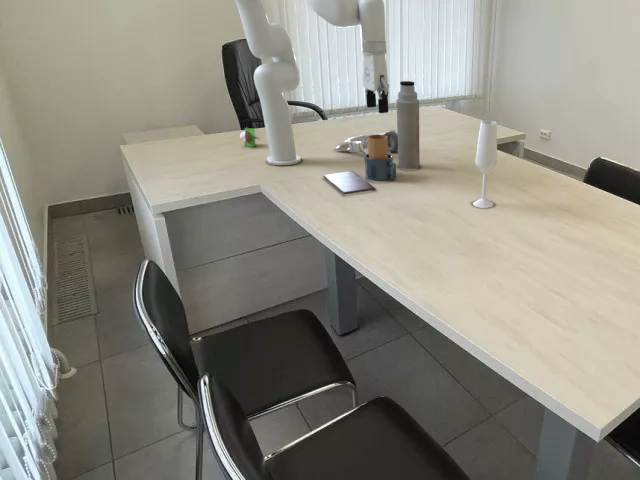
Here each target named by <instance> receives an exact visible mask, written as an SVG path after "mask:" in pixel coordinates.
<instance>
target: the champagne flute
mask: <svg viewBox="0 0 640 480" xmlns="http://www.w3.org/2000/svg"><path fill="white" fill-rule="evenodd" d="M478 132H479V133H478V140H477V147H476V153H475V160H474V163H475V166H476V167H477V168H478V170H479V171H480V172H481V173H482V189H481V198H479V199H478V200H475V201H474V202H473V203H472V205H473V206H474V207H476V208H480V209H489V208H493V207H494V203H493V202H492V201H490V200H488V199H487V198H486V196H487V195H486V194H487V183H488V173H490V172H491V171H492V170H493V169H495V168H496V166H497V164H498V122H497V121H495V120H481V121H480V126H479V131H478Z"/></svg>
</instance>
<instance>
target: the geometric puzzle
mask: <svg viewBox="0 0 640 480" xmlns="http://www.w3.org/2000/svg"><path fill="white" fill-rule="evenodd" d="M255 133H256V130H255V128H249V127H244V128H243V130H242V131H241V132H240V134H239V138H240V140H241V141H243V142H244V146H245V147H248V148H250V147H251V148H256V140H257V139H258V140H261V138H260V137H257V135H258V136H259V134H257V133H256V134H255Z"/></svg>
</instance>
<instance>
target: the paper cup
mask: <svg viewBox="0 0 640 480" xmlns="http://www.w3.org/2000/svg"><path fill="white" fill-rule="evenodd" d="M368 150H369V152H368V154H369V159H374V160H383V159H388V154H389V151H388V137H387V136H385V135H370V136H368ZM368 150H367V151H368Z"/></svg>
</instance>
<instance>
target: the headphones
mask: <svg viewBox="0 0 640 480" xmlns="http://www.w3.org/2000/svg"><path fill="white" fill-rule="evenodd" d="M370 135H385V136H387V137H388V153H394V152H398V135H397V131H396V130H395V129H390V130H388V131H385V132H384V133H382V132H377V133H375V132H374V133H366V134H361V135H356V136H352V137H349V138H347V139H346V140H344V141H342V142H340V143H338V144H336V146H335V147H334V148H333V151H347V152H349V153H358V154H359V153H363V154H364V156H365V155H366V154H368V153H369V150H368V136H370ZM364 146H366V150H365V148H364ZM366 151H367V152H366Z"/></svg>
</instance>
